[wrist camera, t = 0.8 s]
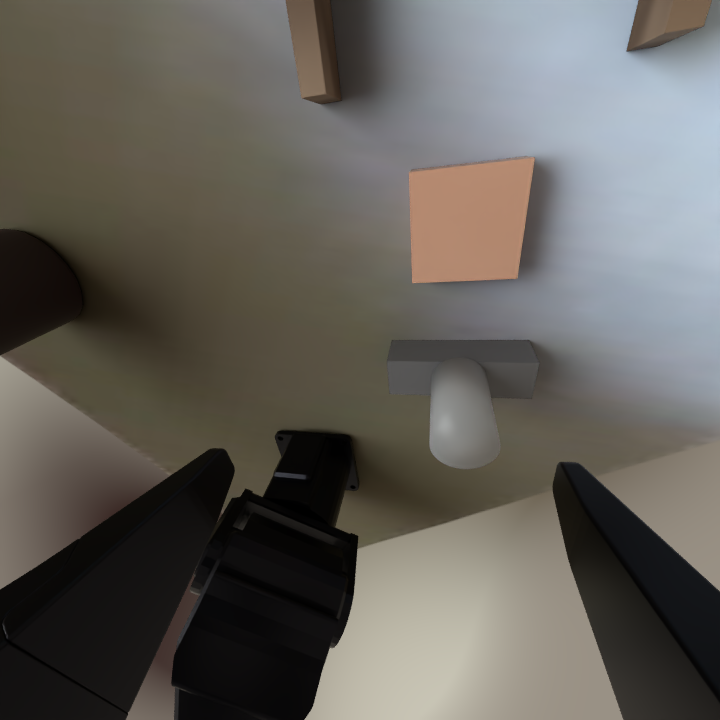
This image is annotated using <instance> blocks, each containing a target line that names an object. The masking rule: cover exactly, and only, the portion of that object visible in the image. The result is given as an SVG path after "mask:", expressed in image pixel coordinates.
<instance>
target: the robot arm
mask: <svg viewBox="0 0 720 720" xmlns="http://www.w3.org/2000/svg"><path fill="white" fill-rule="evenodd" d="M275 440H276V443H277V445H278V448H279V451H280V454H281V459H280V461H279V463H278V465H277V467H276V469H275V471H274V474H273V477H272V479H271V481H270V483H269V485H268V487H267V489H266V491H265V493H264V495H263V497H261V496H259V495H256V494H254V493H252V492H253V491H250V490H248V489H245V490H244V492H243V493H242V495H241V497H237V498H232V499H231V501H230V502H229V504H228V506H227V508H226V509H225V511H224V513H223V514H222V516H221V518H220V519H219V521H218V518H219V515H220V513H221V510H222V507H223V504H224V502H225V499H226V496H227V493H228V490H229V488H230V485H231V482H232V479H233V476H234V472H235V469H234V465H233V463H232V461H231V459H230V457H229V455H228V453H227V452H226V450H225V449H221V448H212V449H209V450H208V451H206V452H205V453H203V454H202V455H200V456H199V457H197V458H196V459H194V460H193V461H191V462H190V463H189V464H187V465H186V466H184V467H183V468H181V469H180V470H178V471H177V472H175V473H174V474H172V475H171V476H169V477H168V478H167V479H165V480H164V481H162V482H161V483H160V484H158V485H156V486H155V487H153V488H152V489H151V490H149V491H148V492H146V493H145V494H143V495H142V496H140V497H139V498H137V499H136V500H134V501H133V502H131V503H130V504H128V505H127V506H126V507H124V508H123V509H121V510H120V511H118V512H117V513H115V514H114V515H112V516H111V517H109V518H108V519H107V520H105V521H104V522H102V523H101V524H99V525H98V526H96V527H95V528H93V529H92V530H90V531H89V532H87V533H86V534H85V535H83V536H82V537H81V538H80V539H77V540H76V541H74V542H73V543H71V544H70V545H69V546H67V547H66V548H64V549H63V550H61V551H60V552H58V553H56V554H55V555H53V556H52V557H50V558H49V559H47V560H46V561H44V562H43V563H41V564H40V565H38V566H37V567H36V568H34V569H32V570H31V571H29V572H27V573H26V574H24V575H23V576H21V577H20V578H18V579H16V580H15V581H13V582H12V583H10V584H9V585H7V586H5V587H4V588H2V589H0V720H126V718H127V716H128V712H129V711H130V709H131V707H132V704H133V702H134V700H135V698H136V696H137V694H138V691H139V689H140V687H141V685H142V683H143V681H144V678H145V676H146V674H147V672H148V670H149V668H150V666H151V664H152V661H153V659H154V657H155V655H156V653H157V651H158V649H159V646H160V644H161V642H162V640H163V638H164V635H165V634H166V631H167V629H168V627H169V625H170V623H171V621H172V618H173V616H174V614H175V612H176V610H177V608H178V605H179V603H180V601H181V599H182V597H183V595H184V593H185V591H186V588H187V586H188V584H189V582H190V580H191V578H192V575H193V573H194V571H195V573H194V577H195V578H194V580H193V582H192V585H191V587H190V592H192V593H194V594H197V595H199V598H198V599H197V602H196V604H195V606H194V608H193V610H192V612H191V614H190V616H189V618H188V620H187V622H186V624H185V626H184V628H183V630H182V632H181V634H180V636H179V639H178V641H177V650H176V652H175V655H174V661H173V670H172V682H171V683H172V686H173V687H175V710H174V712H175V713H174V720H304V719H305V718H306V716H307V715H308V713H309V712H310V711H311V709H312V707H313V704H314V700H315V696H316V692H317V688H318V685H319V681H320V677H321V673H322V669H323V666H324V663H325V660H326V657H327V654H328V651H329V648H334V647H335V646H336V645H337V644H338V642H339V640H340V638H341V636H342V634H343V632H344V629H345V626H346V624H347V620H348V617H349V614H350V610H351V606H352V601H353V595H354V585H355V573H356V558H357V546H358V536H357V535H355V534H352V533H351V534H349V533H347V532H344V531H342V530H339V529H337V528H335V526H336V522H337V519H338V515H339V511H340V507H341V504H342V500H343V496H344V493H345V490H352V491H356V490H358V488H359V479H358V474H357V468H356V462H355V457H354V451H353V445H352V440H351V438H350V437H349V436H347V435H340V434H324V433H309V432H293V431H278V432H277V433H276V435H275ZM553 494H554V499H555V504H556V508H557V512H558V517H559V521H560V526H561V530H562V535H563V539H564V543H565V547H566V552H567V556H568V560H569V563H570V566H571V569H572V572H573V575H574V578H575V581H576V584H577V587H578V590H579V593H580V595H581V599H582V601H583V604H584V607H585V610H586V613H587V616H588V619H589V622H590V625H591V627H592V630H593V633H594V636H595V639H596V642H597V645H598V647H599V650H600V653H601V656H602V659H603V662H604V665H605V668H606V671H607V674H608V676H609V679H610V682H611V685H612V688H613V691H614V694H615V696H616V700H617V702H618V705H619V708H620V711H621V714H622V717H623V719H624V720H720V591H719V590H718V589H716V588H715V587H714V586H713V585H712V584H711V583H710V582H709V581H708V580H707V579H706V578H704V577H703V576H702V575H701V574H700V573H699V572H698V571H697V570H696V569H695V568H693V567H692V566H691V565H690V564H689V563H688V562H687V561H686V560H685V559H683V557H681V556H680V555H679V554H678V553H677V552H676V551H675V550H674V549H673V548H672V547H670V546H669V545H668V544H667V543H666V542H665V541H664V540H663V539H662V538H661V537H660V536H658V535H657V534H656V533H655V532H654V531H653V530H652V529H651V528H650V527H649V526H647V525H646V524H645V523H644V522H643V521H642V520H641V519H640V518H639V517H638V516H637V515H635V514H634V513H633V512H632V511H631V510H630V509H629V508H628V507H627V506H626V505H624V504H623V503H622V502H621V501H620V500H619V499H618V498H617V497H616V496H615V495H614V494H612V493H611V492H610V491H609V490H608V489H607V488H606V487H605V486H604V485H603V484H602V483H600V482H599V481H598V480H597V479H596V478H595V477H594V476H593V475H592V474H591V473H589V472H588V471H587V470H586V469H585V468H584V467H583V466H582V465H580V464H579V463H576V462H559V463H558V465H557V468H556V472H555V477H554V481H553ZM217 521H218V522H217ZM195 569H196V570H195Z"/></svg>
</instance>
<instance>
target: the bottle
mask: <svg viewBox="0 0 720 720" xmlns="http://www.w3.org/2000/svg"><path fill="white" fill-rule="evenodd" d="M82 305H83V302H82V293H81V289H80V287H79V284H78V282H77V279H76V277H75V276H74V274H73V273H72V271H71V270H70V268H69V267H68V265H67V264H66V263H65V262H64V261H63V260H62V259H61V258H60V257H59V255H58V254H57V253H56V252H55V251H54V250H52V249H51V248H50V247H48V246H47V245H46V244H44V243H43V242H41V241H40V240H39V239H37V238H35V237H33V236H30V235H28V234H26V233H24V232H22V231H16V230H11V229H0V355H2V354H4V353H6V352H8V351H10V350H12V349H14V348H17V347H19V346H21V345H23V344H25V343H27V342H29V341H31V340H33V339H35V338H37V337H39V336H41V335H43V334H45V333H47V332H49V331H51V330H54V329H56V328H58V327H60V326H62V325H64V324H66V323H68V322H70V321H72V320H73V319H74V318H75V317H77V316H78V315H79V314H80V311H81V308H82Z"/></svg>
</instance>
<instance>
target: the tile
mask: <svg viewBox="0 0 720 720" xmlns="http://www.w3.org/2000/svg"><path fill="white" fill-rule="evenodd" d="M534 160H535V158H534V157H528V156H523V157H515V158H506V159H498V160H489V161H481V162H472V163H464V164H456V165H447V166H439V167H430V168H422V169H413V170H411V171H410V172H409V185H410V219H411V254H412V283H428V282H451V281H474V280H498V279H517V277H518V270H519V263H520V256H521V249H522V242H523V235H524V228H525V222H526V215H527V208H528V201H529V194H530V187H531V180H532V173H533V166H534Z"/></svg>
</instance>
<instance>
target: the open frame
mask: <svg viewBox="0 0 720 720" xmlns="http://www.w3.org/2000/svg"><path fill="white" fill-rule="evenodd" d="M711 2H712V0H639V1H638V5H637V9H636V14H635V18H634V22H633V26H632V31H631V35H630V39H629V43H628V47H627V51H633V50H638V49H644V48H650V47H656V46H660V45H662V44H664V43H666V42H669V41H671V40H673V39H676V38H678V37H680V36H682V35H685V34H687V33H689V32H692V31H694V30H696V29H698V28H701V27H703V26H704V23H705V20H706V17H707V14H708V11H709V8H710V5H711ZM286 6H287V12H288V18H289V24H290V30H291V36H292V43H293V49H294V55H295V61H296V67H297V73H298V79H299V85H300V92H301V98H303V99H306V100H309V101H312V102H315V103H318V104H325V103H330V102H336V101H342V100H341V91H340V83H339V74H338V65H337V56H336V47H335V38H334V29H333V20H332V11H331V3H330V0H286Z"/></svg>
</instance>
